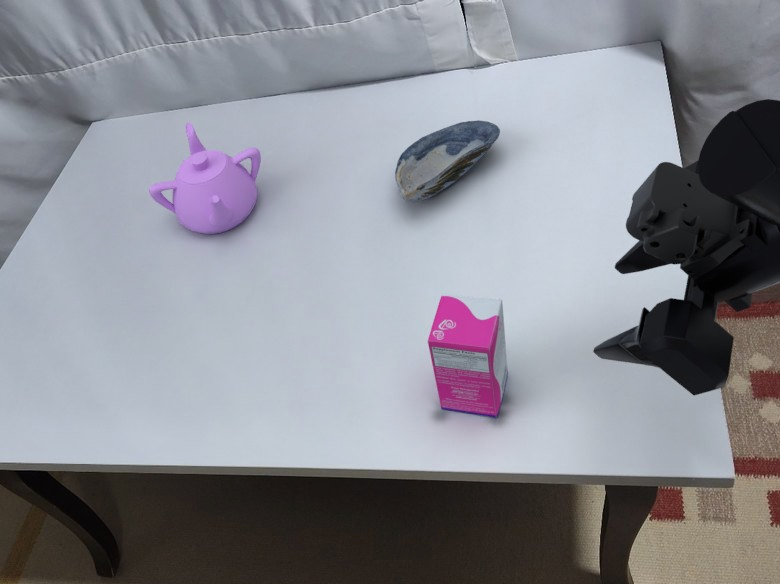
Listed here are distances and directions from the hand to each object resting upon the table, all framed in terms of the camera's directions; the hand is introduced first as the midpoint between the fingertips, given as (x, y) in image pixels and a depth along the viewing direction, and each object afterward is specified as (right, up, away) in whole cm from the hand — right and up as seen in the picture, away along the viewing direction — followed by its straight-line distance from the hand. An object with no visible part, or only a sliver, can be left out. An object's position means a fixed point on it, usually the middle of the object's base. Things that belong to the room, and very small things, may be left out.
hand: (607, 310), depth 62 cm
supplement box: (-8, -7, +14) cm, 18 cm away
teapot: (-36, +16, +40) cm, 57 cm away
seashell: (-6, +19, +34) cm, 39 cm away
